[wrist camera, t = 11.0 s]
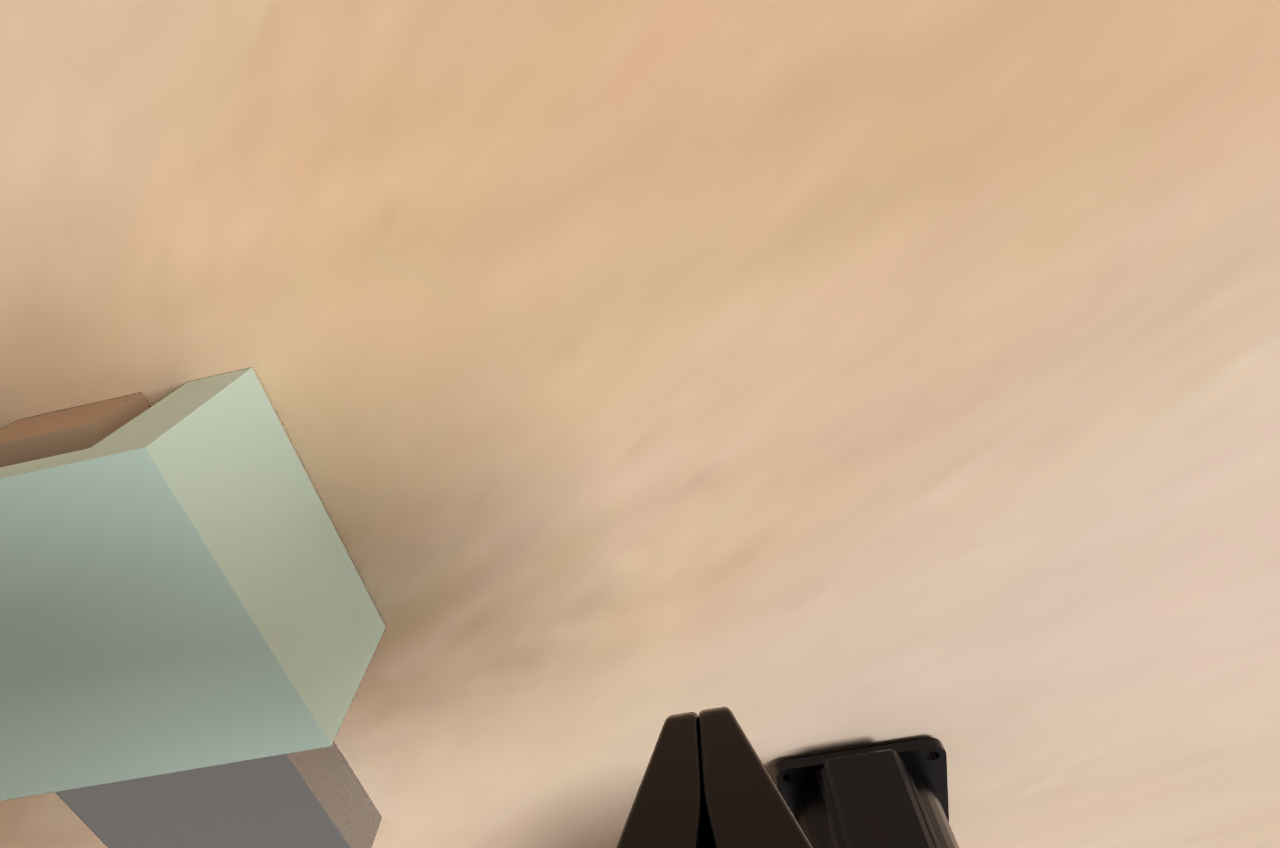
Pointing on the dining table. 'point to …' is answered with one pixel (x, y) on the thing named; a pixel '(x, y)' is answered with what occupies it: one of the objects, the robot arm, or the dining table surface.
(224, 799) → the grey flat block
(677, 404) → the dining table surface
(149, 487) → the pale mint green box
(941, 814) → the robot arm
